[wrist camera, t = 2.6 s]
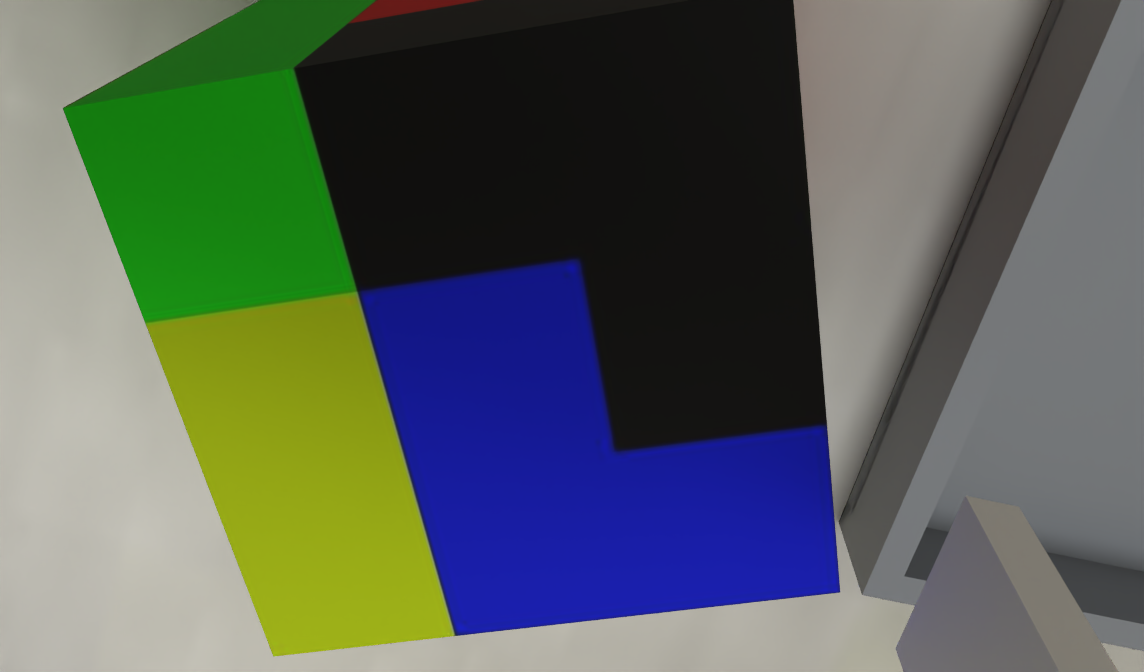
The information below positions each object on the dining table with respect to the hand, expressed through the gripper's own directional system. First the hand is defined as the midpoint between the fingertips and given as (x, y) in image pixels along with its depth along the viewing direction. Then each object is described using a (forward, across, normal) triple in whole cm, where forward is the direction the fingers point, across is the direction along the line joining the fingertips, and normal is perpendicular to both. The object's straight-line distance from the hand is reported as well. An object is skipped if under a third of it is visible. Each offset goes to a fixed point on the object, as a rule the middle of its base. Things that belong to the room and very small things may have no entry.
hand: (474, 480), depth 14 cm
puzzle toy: (+12, 0, 0) cm, 13 cm away
